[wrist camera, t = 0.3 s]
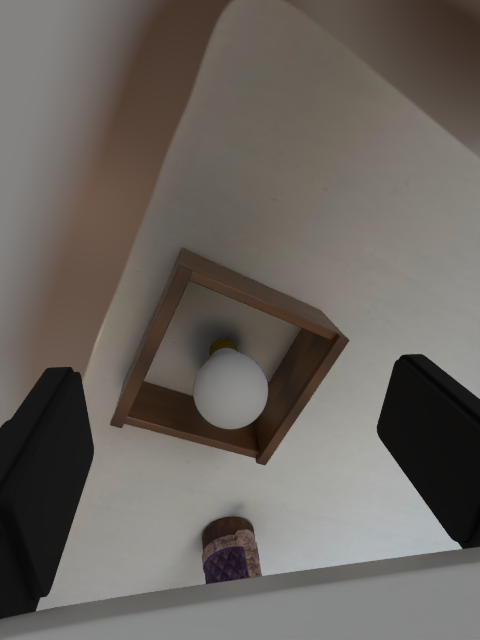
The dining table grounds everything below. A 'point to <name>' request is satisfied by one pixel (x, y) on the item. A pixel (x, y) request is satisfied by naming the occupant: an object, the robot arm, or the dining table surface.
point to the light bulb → (230, 387)
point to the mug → (230, 551)
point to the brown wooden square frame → (283, 390)
